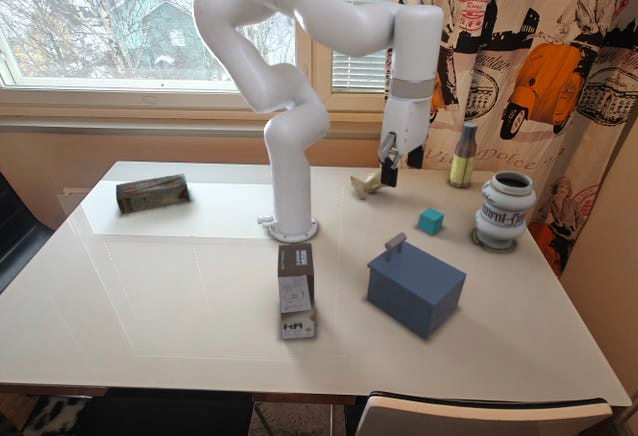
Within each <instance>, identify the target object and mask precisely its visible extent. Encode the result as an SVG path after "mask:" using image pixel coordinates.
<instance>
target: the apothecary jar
mask: <svg viewBox="0 0 638 436" xmlns="http://www.w3.org/2000/svg"><path fill="white" fill-rule="evenodd" d="M533 183H534V182H533V180H532V178H531V177H529V176H527V175H526V174H523V173H521V172H517V171H512V170H501V171H497V172H496V173H494V175H493V177H492V178H491V179H488V181H487V180H486V182H485V183H484V184H483V186H482V188H481V194H482V197H483V198H484V199H483V204H482V205H481V207H480V208H479V209H477V211H476V212H475V213H474V215H473V223H474V225H475V227H476V230H475V231H474V232H473V235H472V236H473V240H474V241H475V243H476V244H477V245H480V246H482V247H483V249H485V250H486V251H487V250H488V251H491V252H495V253H507V252H510V251H511V250H513V249H514V247H515V239H518V238H520V237H522V236H523V235H524V234H525V232H526V231H527V223H526V220H525V215H526V212H527V210H528V209H530V208H532V207H533V206H534V204H535V203H536V201H537V193H536V191H535V189H533Z"/></svg>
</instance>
